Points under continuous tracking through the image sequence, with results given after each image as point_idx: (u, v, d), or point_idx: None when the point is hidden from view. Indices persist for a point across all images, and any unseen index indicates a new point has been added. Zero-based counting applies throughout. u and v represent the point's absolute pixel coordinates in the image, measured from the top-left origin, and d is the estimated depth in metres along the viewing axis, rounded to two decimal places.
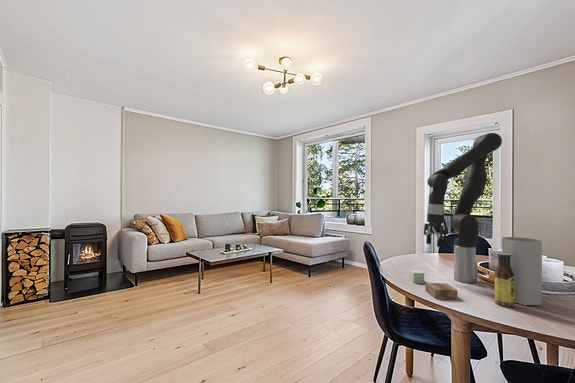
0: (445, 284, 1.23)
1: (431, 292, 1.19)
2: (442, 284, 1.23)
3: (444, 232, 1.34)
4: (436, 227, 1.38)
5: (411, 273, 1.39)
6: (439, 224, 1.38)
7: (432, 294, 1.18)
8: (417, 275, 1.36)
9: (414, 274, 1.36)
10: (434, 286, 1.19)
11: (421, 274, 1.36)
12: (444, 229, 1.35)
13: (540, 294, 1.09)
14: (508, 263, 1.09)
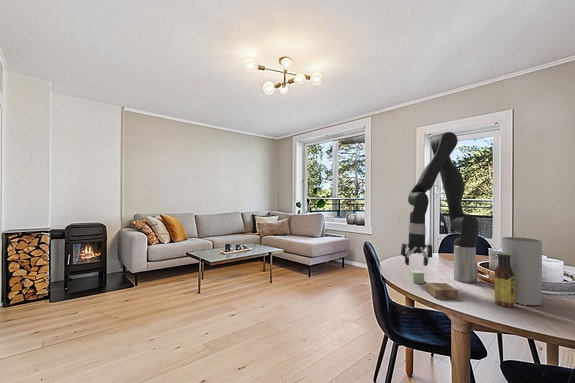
0: (445, 284, 1.23)
1: (431, 292, 1.19)
2: (442, 283, 1.23)
3: None
4: (423, 246, 1.37)
5: (411, 273, 1.39)
6: None
7: (432, 294, 1.18)
8: (417, 275, 1.36)
9: (414, 274, 1.36)
10: (434, 287, 1.19)
11: (421, 274, 1.36)
12: None
13: (540, 294, 1.09)
14: (508, 263, 1.09)
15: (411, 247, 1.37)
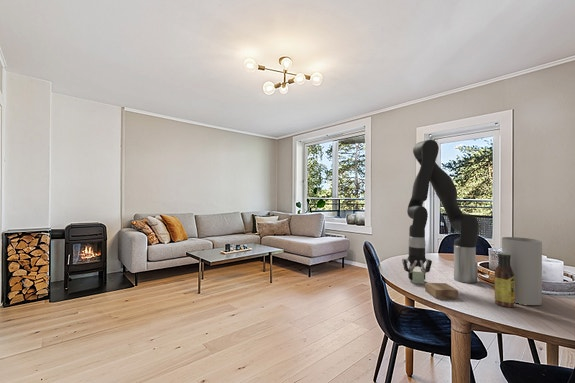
0: (445, 284, 1.23)
1: (431, 292, 1.19)
2: (442, 283, 1.23)
3: None
4: (423, 261, 1.37)
5: None
6: None
7: (432, 294, 1.18)
8: (417, 275, 1.36)
9: (414, 274, 1.36)
10: (435, 287, 1.19)
11: (421, 274, 1.36)
12: None
13: (540, 294, 1.09)
14: (508, 263, 1.09)
15: (411, 262, 1.37)
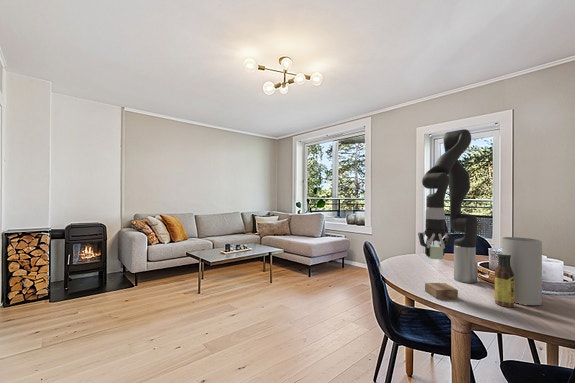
0: (444, 284, 1.23)
1: (432, 292, 1.19)
2: (441, 283, 1.23)
3: None
4: (442, 235, 1.22)
5: None
6: None
7: (433, 294, 1.18)
8: (435, 250, 1.21)
9: (432, 249, 1.21)
10: (435, 287, 1.19)
11: (440, 249, 1.21)
12: None
13: (540, 294, 1.09)
14: (508, 263, 1.09)
15: (429, 235, 1.23)
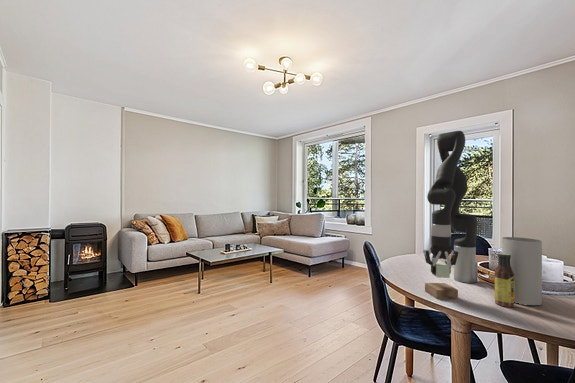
0: (444, 284, 1.23)
1: (432, 292, 1.18)
2: (441, 283, 1.24)
3: None
4: (449, 252, 1.19)
5: None
6: None
7: (433, 294, 1.18)
8: (442, 268, 1.18)
9: (438, 267, 1.18)
10: (435, 287, 1.19)
11: (446, 267, 1.18)
12: None
13: (540, 294, 1.09)
14: (508, 263, 1.09)
15: (435, 253, 1.19)
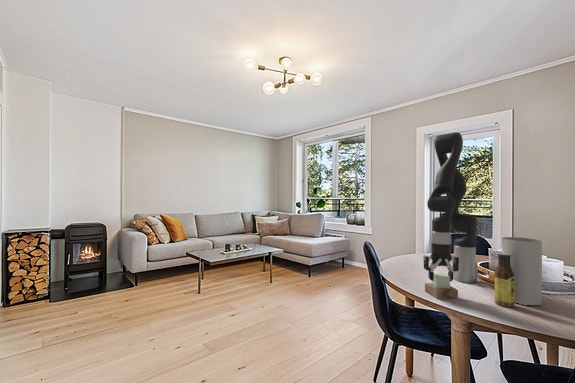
0: None
1: (432, 292, 1.18)
2: None
3: None
4: (449, 259, 1.19)
5: (434, 276, 1.21)
6: None
7: (433, 295, 1.17)
8: (442, 279, 1.18)
9: (438, 278, 1.18)
10: (435, 287, 1.19)
11: (446, 278, 1.18)
12: None
13: (540, 294, 1.09)
14: (508, 263, 1.09)
15: (435, 260, 1.19)
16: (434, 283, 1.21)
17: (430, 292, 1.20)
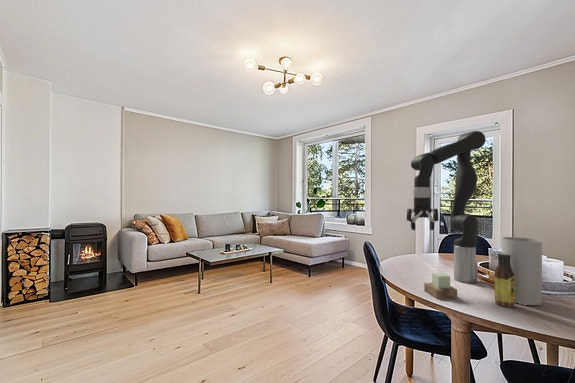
0: None
1: (432, 292, 1.19)
2: None
3: None
4: (429, 210, 1.35)
5: (435, 277, 1.20)
6: None
7: (433, 294, 1.18)
8: (442, 279, 1.18)
9: (439, 278, 1.18)
10: (434, 287, 1.19)
11: (447, 278, 1.18)
12: None
13: (540, 294, 1.09)
14: (508, 263, 1.09)
15: (417, 212, 1.35)
16: (434, 283, 1.21)
17: (429, 292, 1.20)
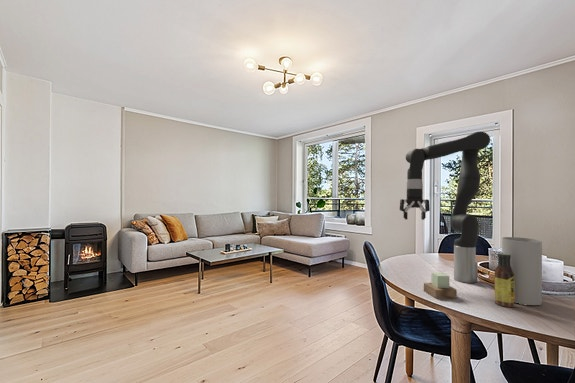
0: None
1: (431, 292, 1.19)
2: None
3: None
4: (421, 201, 1.43)
5: (434, 276, 1.21)
6: None
7: (432, 294, 1.18)
8: (441, 278, 1.18)
9: (438, 277, 1.18)
10: (434, 287, 1.19)
11: (446, 277, 1.18)
12: None
13: (540, 294, 1.09)
14: (508, 263, 1.09)
15: (409, 202, 1.44)
16: (433, 283, 1.21)
17: (429, 292, 1.20)
